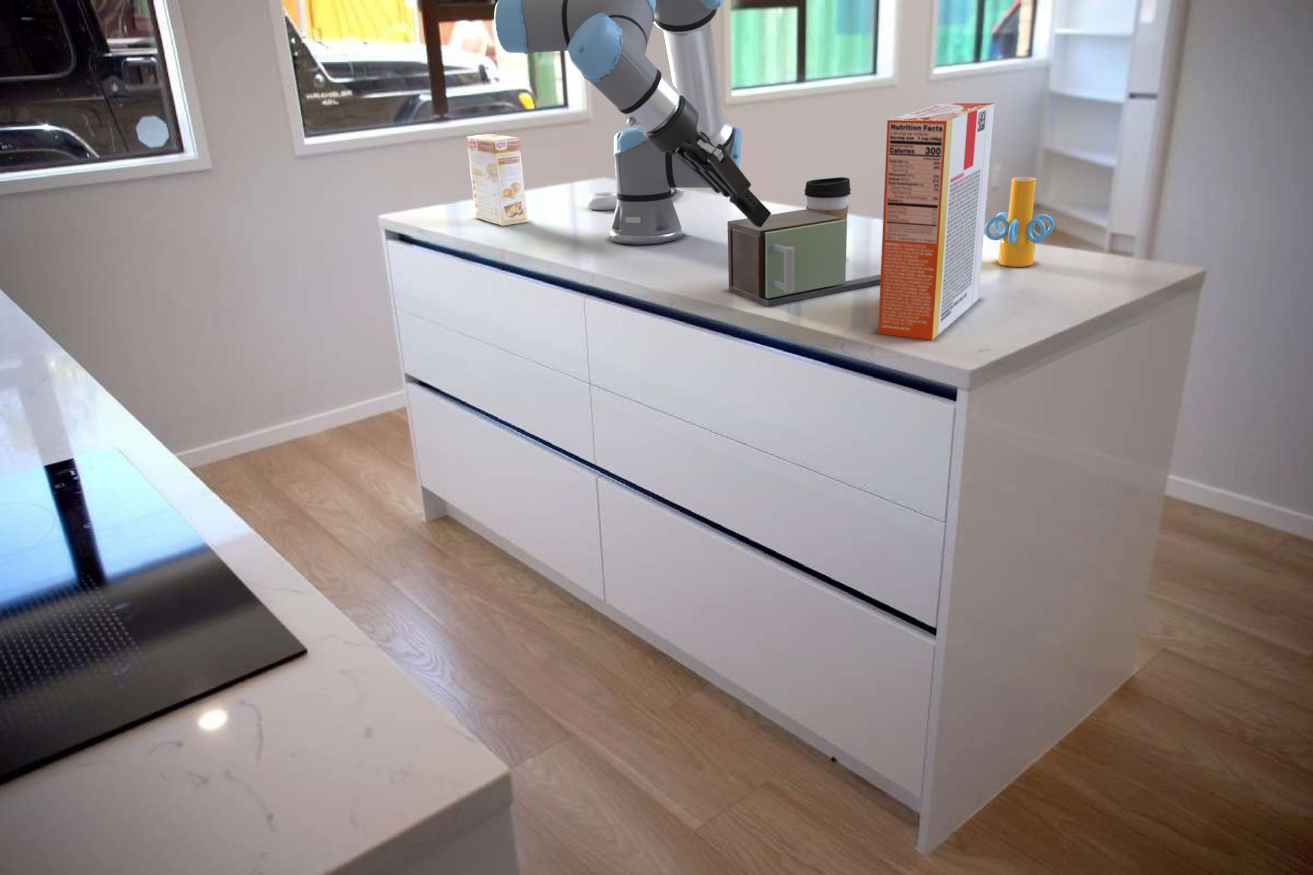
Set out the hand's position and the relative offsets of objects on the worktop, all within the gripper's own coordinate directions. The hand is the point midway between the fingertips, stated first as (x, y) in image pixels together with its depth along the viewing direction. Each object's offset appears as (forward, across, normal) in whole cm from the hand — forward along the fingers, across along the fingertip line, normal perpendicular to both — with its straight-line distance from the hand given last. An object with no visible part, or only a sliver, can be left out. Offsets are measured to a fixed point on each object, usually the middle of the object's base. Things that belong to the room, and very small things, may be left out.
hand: (763, 219), depth 151 cm
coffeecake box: (+6, -105, -15) cm, 107 cm away
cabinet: (+23, -10, +1) cm, 25 cm away
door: (+18, -2, -2) cm, 18 cm away
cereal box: (+26, +15, +4) cm, 30 cm away
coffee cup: (+32, -24, +10) cm, 41 cm away
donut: (+25, -102, +4) cm, 106 cm away
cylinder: (+49, -1, +28) cm, 57 cm away
